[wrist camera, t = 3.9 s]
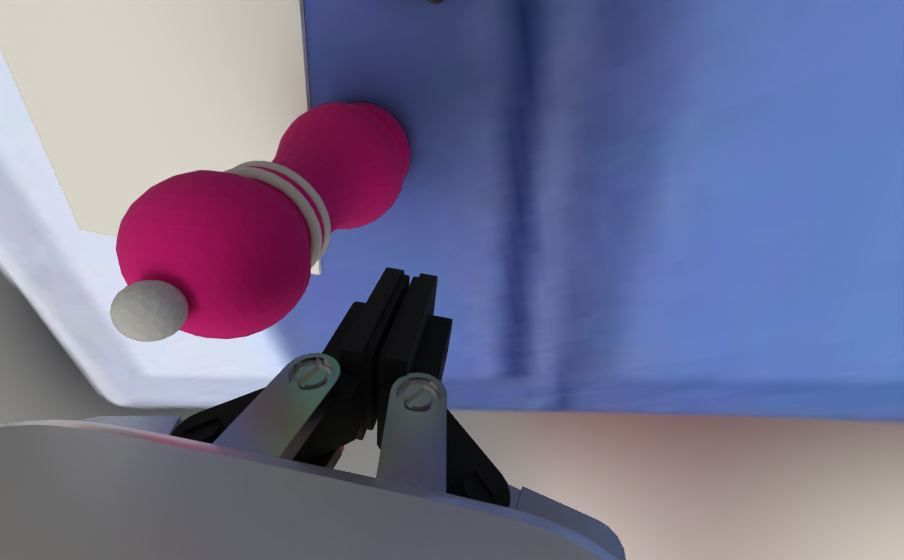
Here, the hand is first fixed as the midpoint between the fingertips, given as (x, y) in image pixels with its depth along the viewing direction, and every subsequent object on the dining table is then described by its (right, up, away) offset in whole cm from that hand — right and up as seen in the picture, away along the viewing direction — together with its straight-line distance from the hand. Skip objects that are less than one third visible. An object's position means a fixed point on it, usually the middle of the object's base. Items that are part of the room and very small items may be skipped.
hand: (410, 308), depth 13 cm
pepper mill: (-5, +10, +15) cm, 18 cm away
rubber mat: (-19, +13, +15) cm, 28 cm away
